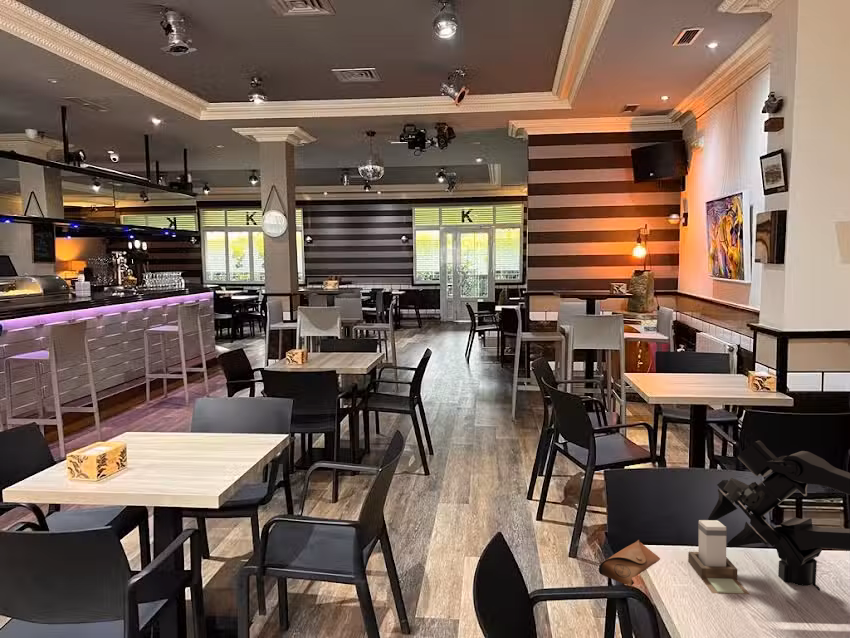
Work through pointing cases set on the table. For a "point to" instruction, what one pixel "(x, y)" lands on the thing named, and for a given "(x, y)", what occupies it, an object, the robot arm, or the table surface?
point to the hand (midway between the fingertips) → (718, 532)
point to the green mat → (724, 585)
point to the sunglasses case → (628, 563)
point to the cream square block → (712, 543)
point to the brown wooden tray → (714, 572)
